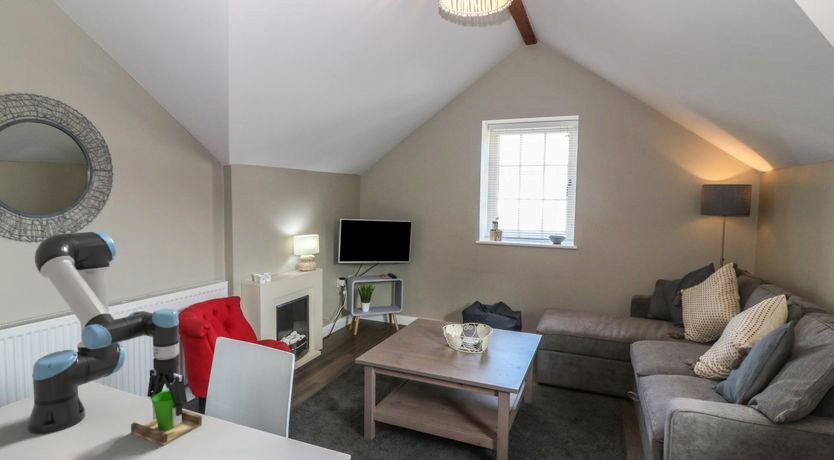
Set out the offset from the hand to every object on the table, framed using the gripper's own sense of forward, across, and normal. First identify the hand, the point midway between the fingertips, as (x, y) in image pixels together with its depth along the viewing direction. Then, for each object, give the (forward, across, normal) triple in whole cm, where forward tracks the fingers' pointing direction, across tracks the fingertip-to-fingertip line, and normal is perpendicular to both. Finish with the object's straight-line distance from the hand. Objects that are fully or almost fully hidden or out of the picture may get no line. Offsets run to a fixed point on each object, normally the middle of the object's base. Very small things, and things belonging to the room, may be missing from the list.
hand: (167, 420), depth 148 cm
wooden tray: (+3, 0, 0) cm, 3 cm away
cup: (+2, 0, 0) cm, 2 cm away
